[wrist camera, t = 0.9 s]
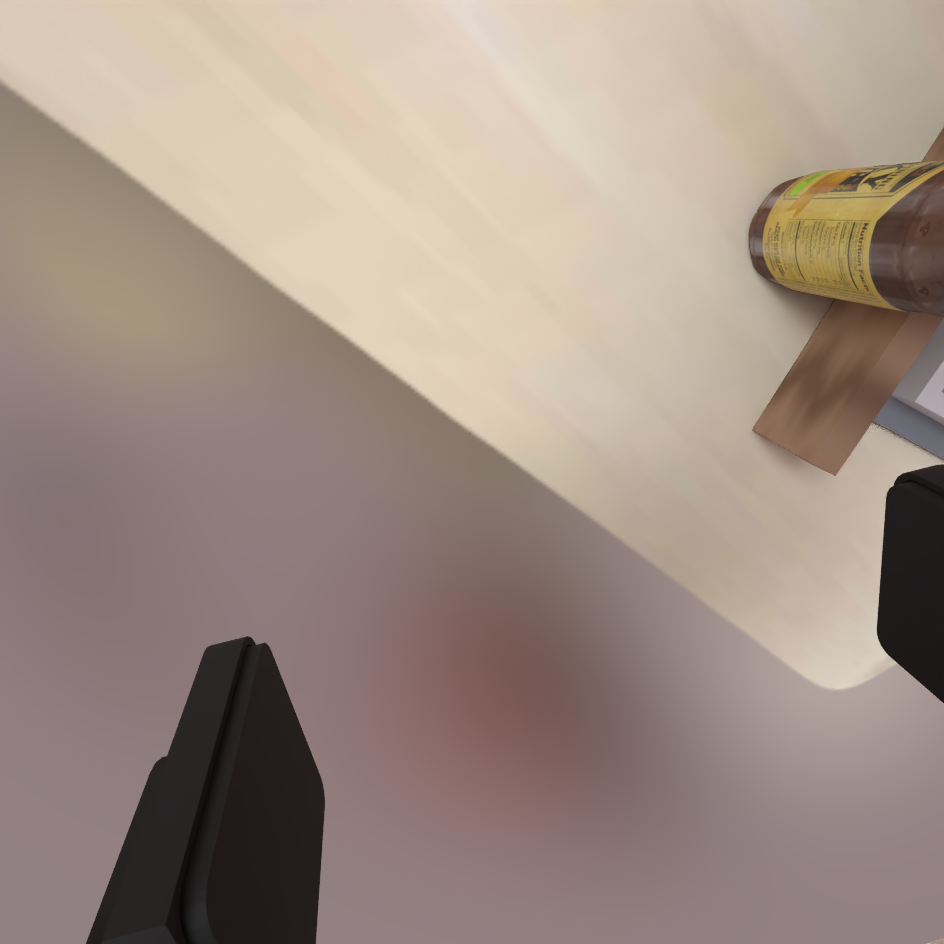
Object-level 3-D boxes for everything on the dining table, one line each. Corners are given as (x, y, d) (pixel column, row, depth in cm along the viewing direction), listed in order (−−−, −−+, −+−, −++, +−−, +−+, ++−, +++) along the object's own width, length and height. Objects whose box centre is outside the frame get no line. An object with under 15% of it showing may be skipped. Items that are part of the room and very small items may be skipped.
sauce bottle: (857, 180, 38) (1320, 155, 19) (823, 292, 40) (1210, 364, 22) (755, 164, 37) (1147, 121, 18) (726, 280, 39) (1050, 346, 20)
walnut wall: (971, 83, 37) (1078, 62, 31) (994, 102, 37) (1104, 84, 32) (752, 430, 43) (809, 463, 37) (775, 441, 43) (835, 475, 38)
